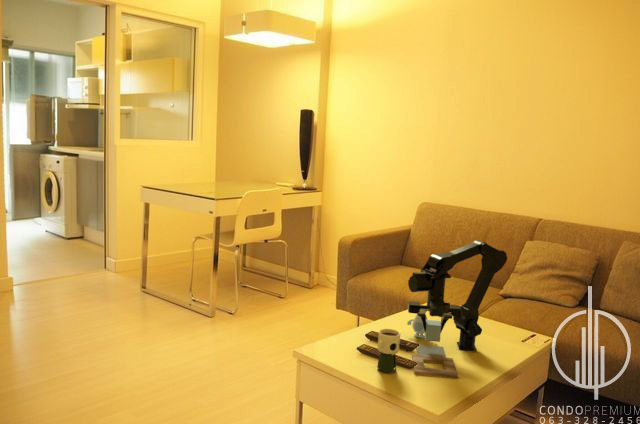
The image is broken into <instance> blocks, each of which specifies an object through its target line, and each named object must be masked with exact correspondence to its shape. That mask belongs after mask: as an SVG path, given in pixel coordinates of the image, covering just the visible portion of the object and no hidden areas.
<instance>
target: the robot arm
mask: <svg viewBox="0 0 640 424" xmlns="http://www.w3.org/2000/svg"><path fill="white" fill-rule="evenodd" d="M478 255H480V256H481V269H480V271H479V273H478V276H477V277H476V279H475V281H474V284H473V286H472V288H471V290H470V293H469V295H468V297H467V298H466V301H465V303H463V304H462V305H460V304H451V303H450V302H445V292H446V291H445V290H446V289H445V288H446V279H451V278H452V276H451V275H450V274H449V273H448V272H449V271H451V270H452V269H453V268H454V266H455V265H456V264H459V263H461V262H464V261H465V260H468V259H470V258H473V257H476V256H478ZM507 261H508V256H507V253H506V251H504V250H501V249H499V248H495V247H493V246H491V245H490V244H488V243H487V242H484V241H481V240H478V239H477V240H474V241H472V242H471V243H469V244H466V245H463V246H461V247H459V248H457V249H454V250H451V251H448V252H447V251H446V252H438V253H433V254H431V255H429V257H428V260H427V261H426V263H425V264H424V265H423V267H422V268H421V269H420V272H414V271H413V272H412V275H411V276H410V277H409V279H408V281H407V284H408V286H407V287H408V289H409V291H410V292H412V293H420V292H427V296H426V304H425V305H424V304H420V302H419V301H415V300H414V301H413V300H412V301H411V300H409V301H408V302H407V312H408V313H409V314H416V315H418V316H420V317H421V319H422V322H423V326H424V331H425V332H426V317H427V315H426V314H427V313H425V311H427V312H428V313H429V316H430V317H439V318H440V323H441V333H442V332H443V329H444V328H445V326H446V324H447V322H448V320H453V323H454V324H455V328H456V329H458V330H459V339H458V340H459V341H456V345H457V348H458V349H459V350H462V351H470V352H471V351H473V352H477V350H478V349H477V347H476V338H477V337H478V336H481V334H482V331H483V329H482V327H481V326H480V325H479V323H478V321H479V319H480V318H479V315H480V314H479V308H480V306H481V304H482V302H483V299H484V298H485V295H486V293H487V291H488V289H489V287H490V284H491V283H492V280H493V278H494V276H495V274H497V273H498V272H499V271H501V270H502V269H503V267H504V266H505V264H506V263H507Z"/></svg>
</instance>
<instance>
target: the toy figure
mask: <svg viewBox="0 0 640 424" xmlns="http://www.w3.org/2000/svg"><path fill="white" fill-rule="evenodd" d="M427 312H428V311H425V314H427ZM426 320H428V317H427V316H426ZM406 324H407V326H412V329H413V331H414V332H415V333H414V334H413V337H414V338H420V339H425V336H424V335H425V331H424V326H423V322H422V319H421V317H420V316H418V315H417V314H416V315H415V316H414V318H413V319H410V320H408V321H407V323H406Z"/></svg>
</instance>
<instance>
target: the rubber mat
mask: <svg viewBox="0 0 640 424" xmlns="http://www.w3.org/2000/svg"><path fill="white" fill-rule="evenodd" d="M415 350H416V355H426V356H437V357H447V356H446V355H447V354H446V353H445V348H444V346H440V345H429V344H428V345H427V344H419V347H418V348H416V347H415Z"/></svg>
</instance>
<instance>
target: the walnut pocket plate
mask: <svg viewBox="0 0 640 424" xmlns="http://www.w3.org/2000/svg"><path fill="white" fill-rule="evenodd" d="M411 359H412V360H413V361H414V362H416V363H417V366H414V368H413V373H414V375H421V376H432V377H441V378H442V377H443V378H449V379H450V378H452V379H459V374H458V371H457V367H456V364H455V361H454V358H453V357H447V356H446V357H437V356H426V355H417V353H416V354H415V353H414V354H413V353H412V354H411ZM413 361H412V362H413ZM425 363H429V364H442V365H443V367H444V369H442V368H441V369H440V368H434V367H433V368H431V367H425Z"/></svg>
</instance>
